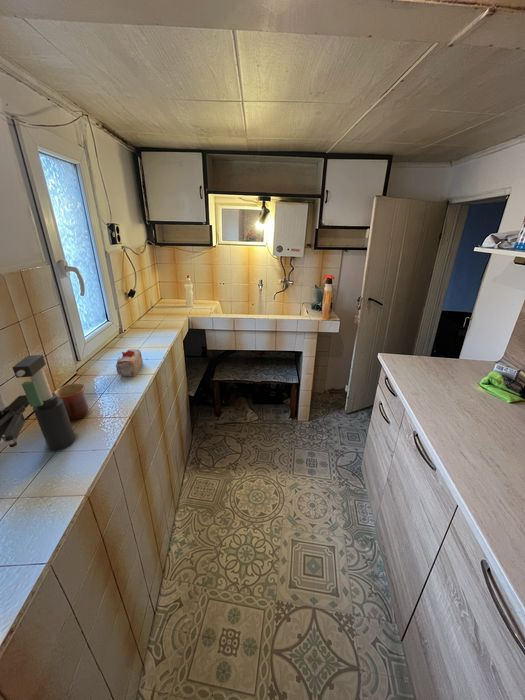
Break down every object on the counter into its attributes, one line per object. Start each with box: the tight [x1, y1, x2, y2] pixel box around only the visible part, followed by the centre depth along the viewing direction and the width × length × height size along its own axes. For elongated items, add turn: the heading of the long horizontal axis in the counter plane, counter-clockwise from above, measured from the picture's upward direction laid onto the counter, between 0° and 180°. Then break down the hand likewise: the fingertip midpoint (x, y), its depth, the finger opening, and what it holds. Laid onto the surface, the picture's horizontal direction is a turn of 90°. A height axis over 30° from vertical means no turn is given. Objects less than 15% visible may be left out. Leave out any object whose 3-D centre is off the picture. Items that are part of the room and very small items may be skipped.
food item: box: [115, 348, 144, 377], centre depth 126 cm, size 14×8×10 cm, turn 6°
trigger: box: [21, 380, 44, 408], centre depth 74 cm, size 1×3×7 cm, turn 102°
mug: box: [53, 382, 89, 421], centre depth 97 cm, size 12×9×10 cm
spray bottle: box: [12, 354, 76, 451], centre depth 79 cm, size 10×7×28 cm
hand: (24, 400), depth 70 cm, fingers closed
